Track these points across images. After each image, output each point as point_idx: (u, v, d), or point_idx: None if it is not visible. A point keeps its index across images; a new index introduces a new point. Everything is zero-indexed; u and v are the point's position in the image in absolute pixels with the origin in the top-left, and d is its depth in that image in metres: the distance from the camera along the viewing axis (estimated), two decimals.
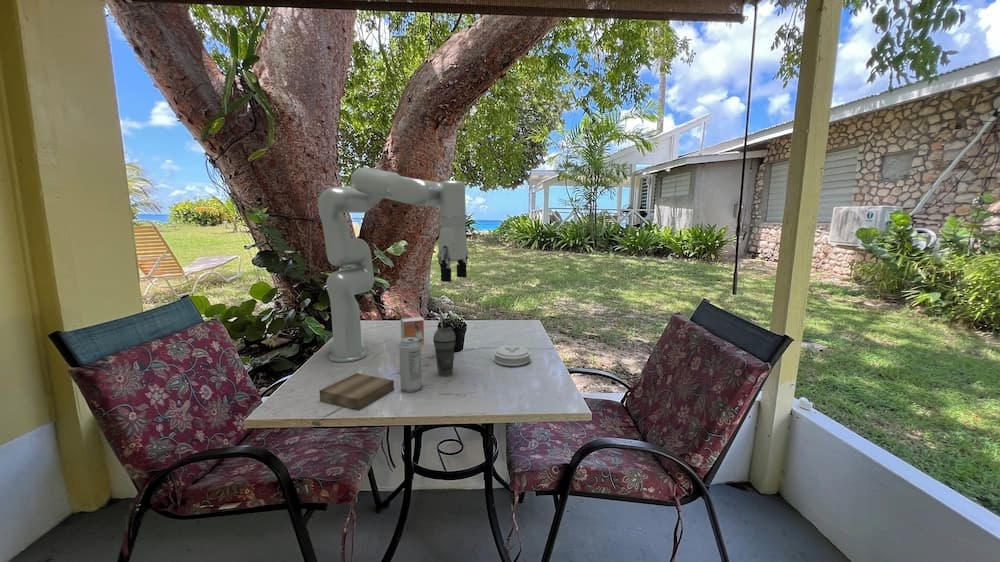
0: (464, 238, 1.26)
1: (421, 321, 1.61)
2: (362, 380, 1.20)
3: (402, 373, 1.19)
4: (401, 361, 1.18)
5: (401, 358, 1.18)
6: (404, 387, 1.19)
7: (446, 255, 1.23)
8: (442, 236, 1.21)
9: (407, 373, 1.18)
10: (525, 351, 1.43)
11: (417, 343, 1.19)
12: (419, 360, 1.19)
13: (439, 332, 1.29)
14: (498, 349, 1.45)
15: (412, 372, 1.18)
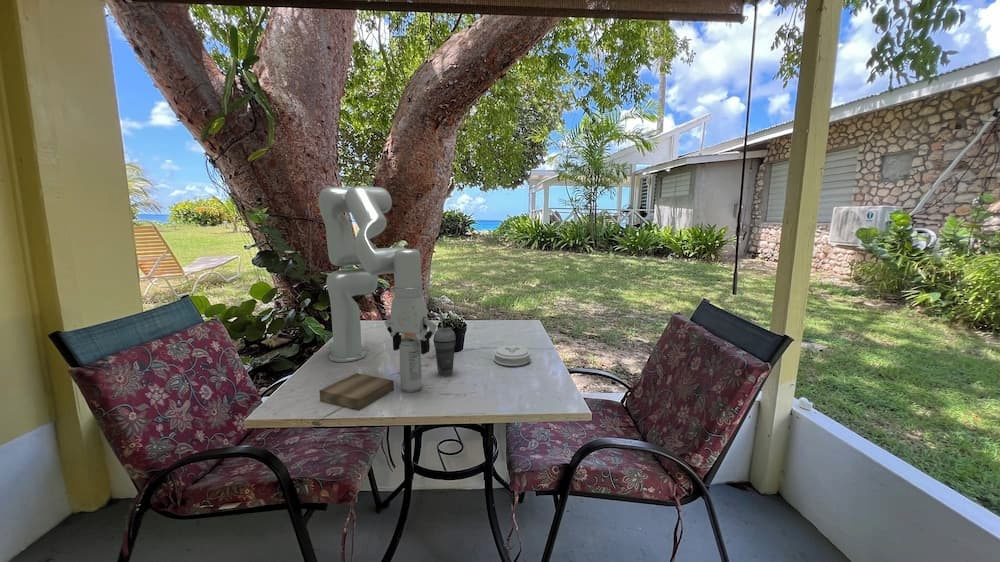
0: None
1: None
2: (362, 380, 1.20)
3: (402, 373, 1.19)
4: (401, 361, 1.18)
5: (401, 358, 1.18)
6: (404, 387, 1.19)
7: None
8: (421, 307, 1.15)
9: (407, 373, 1.18)
10: (525, 351, 1.43)
11: (417, 343, 1.19)
12: (419, 360, 1.19)
13: (439, 332, 1.29)
14: (498, 349, 1.45)
15: (412, 372, 1.18)
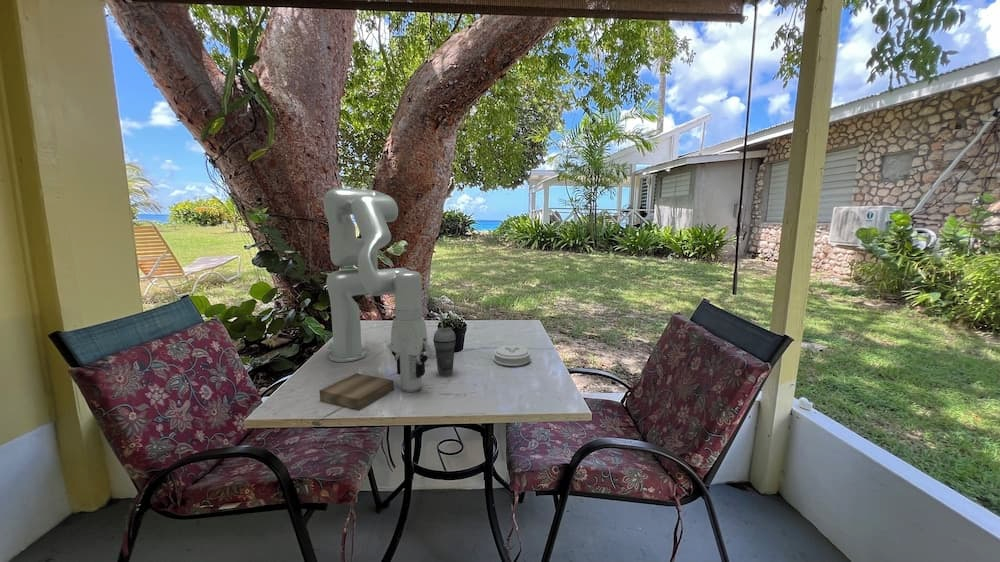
0: None
1: None
2: (362, 380, 1.20)
3: (402, 373, 1.19)
4: (401, 361, 1.18)
5: (401, 358, 1.18)
6: (404, 387, 1.19)
7: None
8: (421, 330, 1.16)
9: (407, 373, 1.18)
10: (525, 351, 1.43)
11: None
12: None
13: (439, 332, 1.29)
14: (498, 349, 1.45)
15: (412, 372, 1.18)
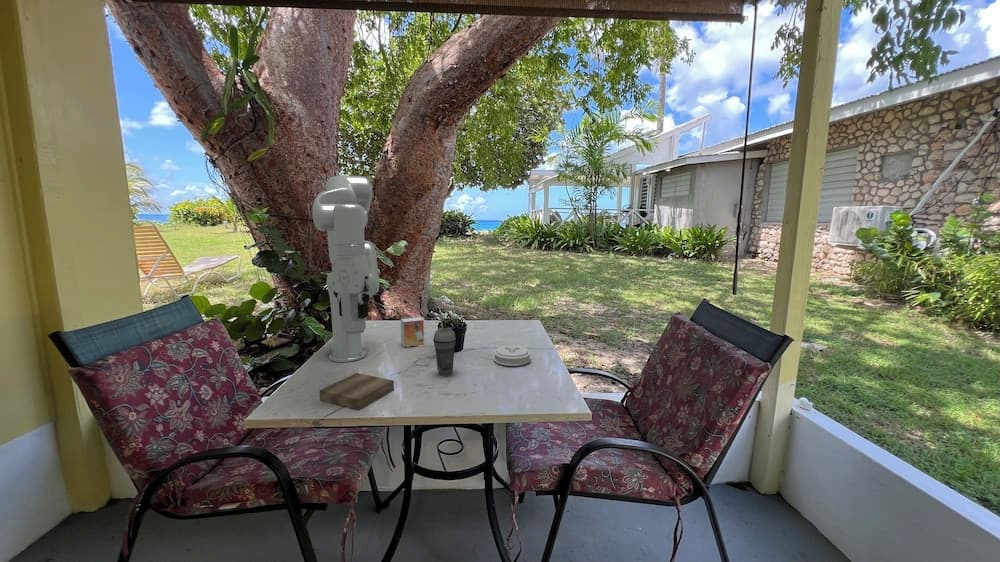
0: None
1: (421, 321, 1.61)
2: (362, 380, 1.20)
3: (343, 314, 1.11)
4: (342, 301, 1.11)
5: (342, 297, 1.11)
6: (345, 329, 1.12)
7: None
8: (362, 266, 1.09)
9: (348, 313, 1.11)
10: (525, 351, 1.43)
11: None
12: None
13: (439, 332, 1.29)
14: (498, 349, 1.45)
15: (354, 312, 1.11)
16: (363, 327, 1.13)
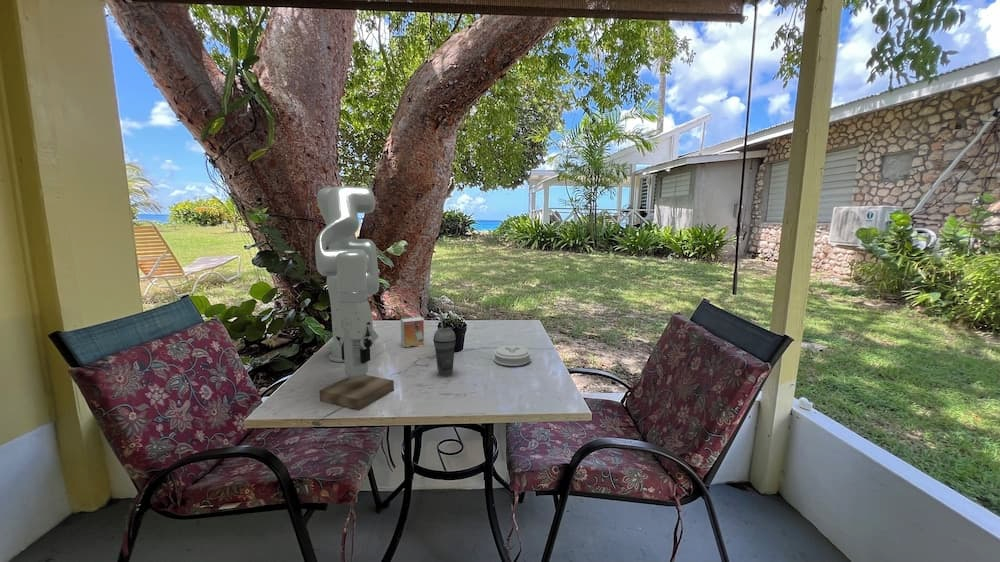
0: None
1: (421, 321, 1.61)
2: (362, 380, 1.20)
3: (346, 359, 1.13)
4: (344, 346, 1.13)
5: (344, 343, 1.13)
6: (348, 373, 1.13)
7: None
8: (364, 313, 1.11)
9: (350, 359, 1.12)
10: (525, 351, 1.43)
11: None
12: None
13: (439, 332, 1.29)
14: (498, 349, 1.45)
15: (356, 357, 1.12)
16: (365, 371, 1.15)
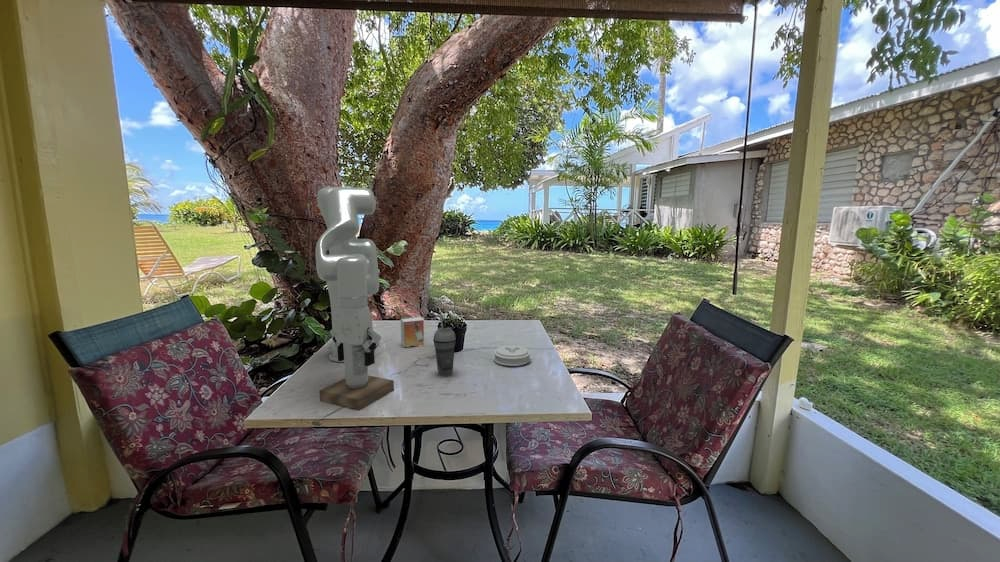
0: None
1: (421, 321, 1.61)
2: None
3: (346, 368, 1.14)
4: (345, 356, 1.13)
5: (344, 353, 1.13)
6: (348, 383, 1.14)
7: None
8: (365, 318, 1.11)
9: (350, 368, 1.13)
10: (525, 351, 1.43)
11: None
12: None
13: (439, 332, 1.29)
14: (498, 349, 1.45)
15: (356, 367, 1.13)
16: (366, 380, 1.16)
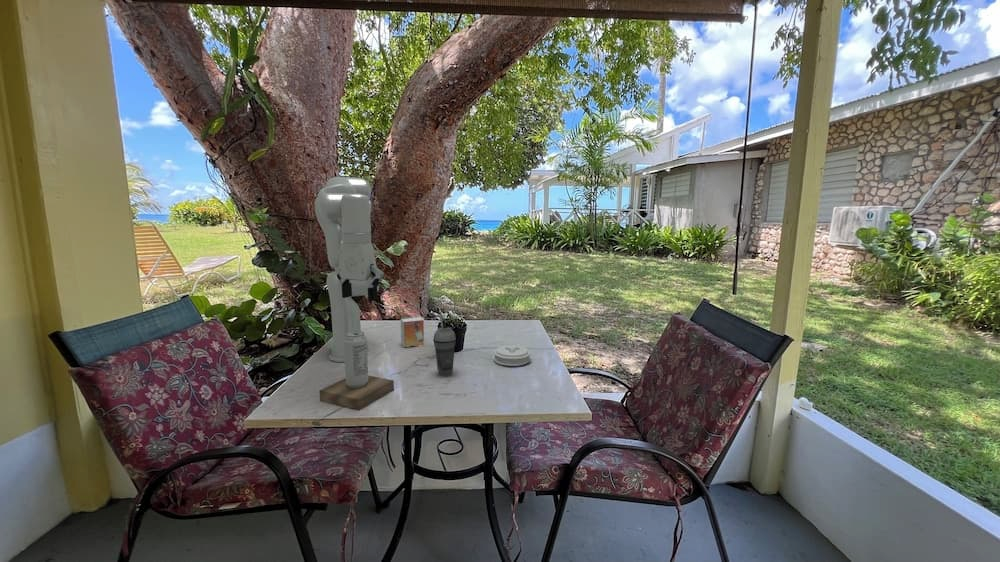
0: None
1: (421, 321, 1.61)
2: None
3: (346, 368, 1.14)
4: (345, 356, 1.13)
5: (345, 353, 1.13)
6: (348, 383, 1.14)
7: None
8: (368, 254, 1.13)
9: (351, 368, 1.13)
10: (525, 351, 1.43)
11: (362, 337, 1.14)
12: (365, 355, 1.15)
13: (439, 332, 1.29)
14: (498, 349, 1.45)
15: (357, 367, 1.13)
16: (366, 381, 1.16)
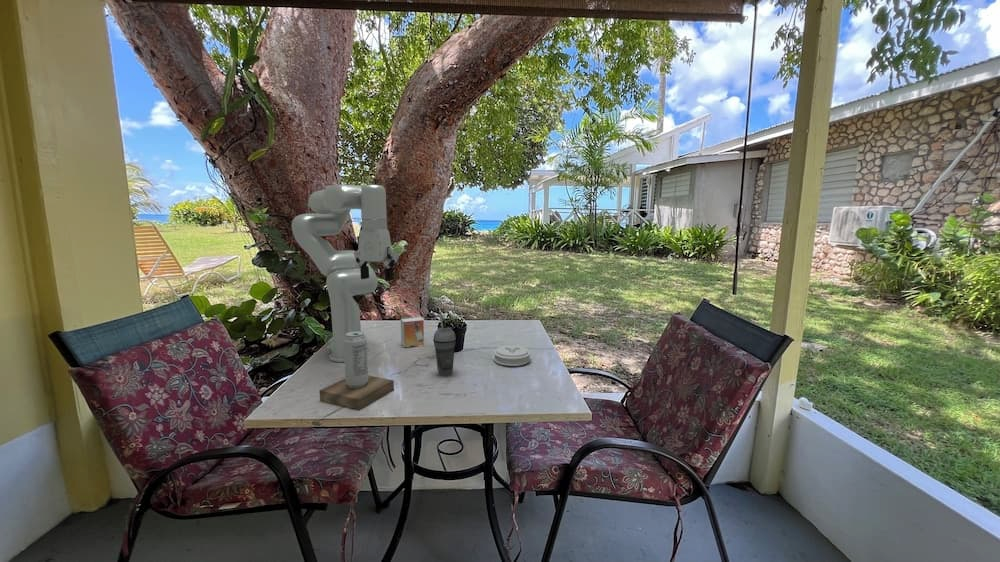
0: None
1: (421, 321, 1.61)
2: None
3: (346, 368, 1.14)
4: (345, 356, 1.13)
5: (345, 353, 1.13)
6: (348, 383, 1.14)
7: None
8: (385, 238, 1.27)
9: (351, 368, 1.13)
10: (525, 351, 1.43)
11: (362, 337, 1.14)
12: (364, 355, 1.15)
13: (439, 332, 1.29)
14: (498, 349, 1.45)
15: (357, 367, 1.13)
16: (366, 381, 1.16)
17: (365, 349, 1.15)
